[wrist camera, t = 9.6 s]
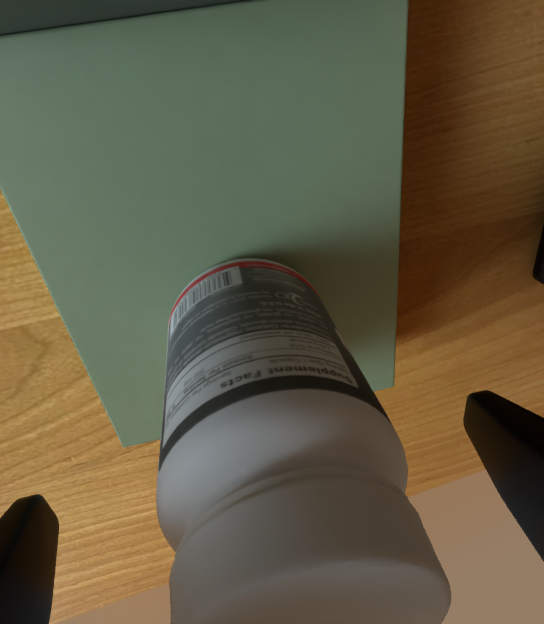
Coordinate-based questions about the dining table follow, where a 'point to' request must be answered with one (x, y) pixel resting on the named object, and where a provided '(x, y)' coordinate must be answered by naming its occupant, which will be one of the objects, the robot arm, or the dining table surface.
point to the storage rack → (203, 166)
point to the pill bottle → (282, 466)
